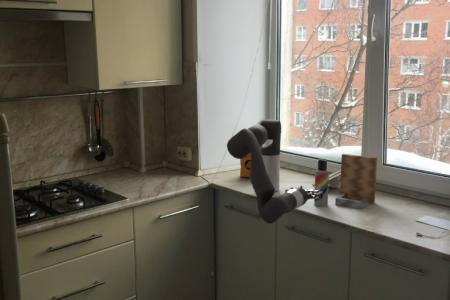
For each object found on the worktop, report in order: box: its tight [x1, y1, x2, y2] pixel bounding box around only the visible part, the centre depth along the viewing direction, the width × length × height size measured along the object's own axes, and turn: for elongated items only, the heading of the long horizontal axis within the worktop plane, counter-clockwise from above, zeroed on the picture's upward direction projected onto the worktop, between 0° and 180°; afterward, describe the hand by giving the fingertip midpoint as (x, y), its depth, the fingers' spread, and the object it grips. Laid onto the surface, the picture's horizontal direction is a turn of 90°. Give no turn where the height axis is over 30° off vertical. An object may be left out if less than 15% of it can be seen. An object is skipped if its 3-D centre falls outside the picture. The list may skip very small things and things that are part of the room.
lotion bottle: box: [313, 158, 330, 208], centre depth 224 cm, size 6×6×20 cm
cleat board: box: [335, 153, 378, 210], centre depth 226 cm, size 15×12×20 cm
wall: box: [312, 169, 341, 189], centre depth 252 cm, size 16×9×15 cm
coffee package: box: [239, 144, 264, 179], centre depth 272 cm, size 10×12×22 cm
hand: (311, 189), depth 214 cm, fingers open, 8 cm apart
